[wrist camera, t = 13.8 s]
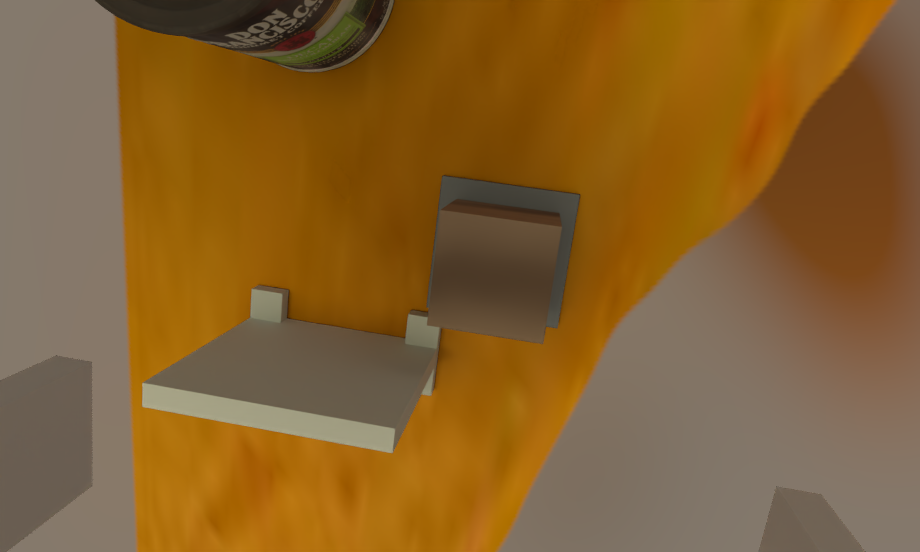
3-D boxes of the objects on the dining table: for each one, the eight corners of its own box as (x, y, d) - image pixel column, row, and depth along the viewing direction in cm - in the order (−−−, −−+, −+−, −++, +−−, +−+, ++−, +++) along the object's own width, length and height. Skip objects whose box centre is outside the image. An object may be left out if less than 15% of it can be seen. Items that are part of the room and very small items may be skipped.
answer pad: (443, 175, 37) (442, 175, 37) (579, 194, 37) (579, 195, 36) (428, 304, 39) (426, 307, 39) (557, 325, 38) (557, 328, 38)
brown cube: (456, 198, 37) (440, 210, 31) (559, 212, 36) (561, 226, 31) (444, 300, 38) (426, 329, 33) (542, 315, 38) (542, 348, 32)
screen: (259, 285, 40) (143, 344, 29) (443, 314, 39) (399, 389, 28) (254, 358, 42) (141, 443, 30) (433, 389, 40) (388, 490, 29)
